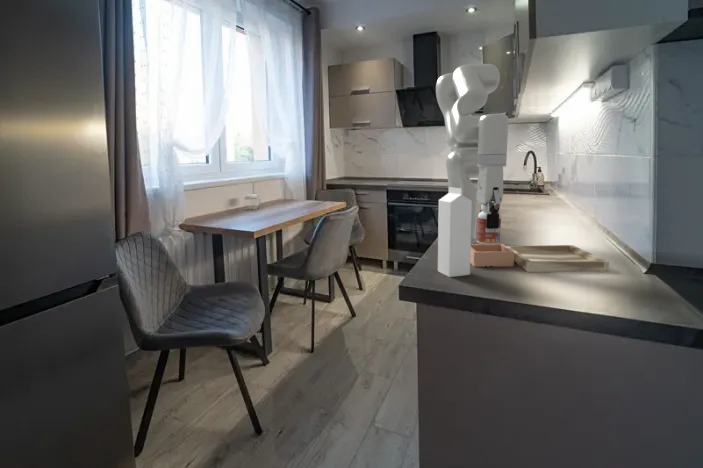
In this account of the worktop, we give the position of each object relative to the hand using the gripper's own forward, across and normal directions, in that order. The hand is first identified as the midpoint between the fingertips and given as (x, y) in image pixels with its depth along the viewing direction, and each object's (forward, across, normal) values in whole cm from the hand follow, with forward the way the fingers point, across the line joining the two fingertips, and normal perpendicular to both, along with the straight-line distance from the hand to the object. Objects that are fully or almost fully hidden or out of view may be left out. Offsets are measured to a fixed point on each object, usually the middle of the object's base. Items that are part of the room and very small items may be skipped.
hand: (488, 225), depth 117 cm
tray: (+10, +2, +17) cm, 20 cm away
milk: (+10, +12, -12) cm, 20 cm away
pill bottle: (+5, 0, 0) cm, 5 cm away
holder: (+10, +1, 0) cm, 10 cm away
